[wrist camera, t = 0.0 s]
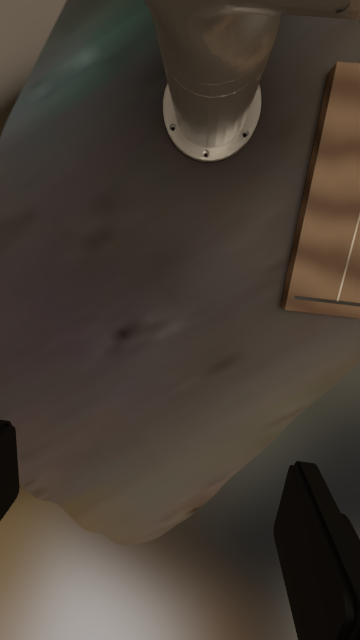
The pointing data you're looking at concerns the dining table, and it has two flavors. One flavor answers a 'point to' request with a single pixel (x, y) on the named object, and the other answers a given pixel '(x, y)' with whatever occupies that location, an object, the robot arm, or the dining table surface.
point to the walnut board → (330, 208)
